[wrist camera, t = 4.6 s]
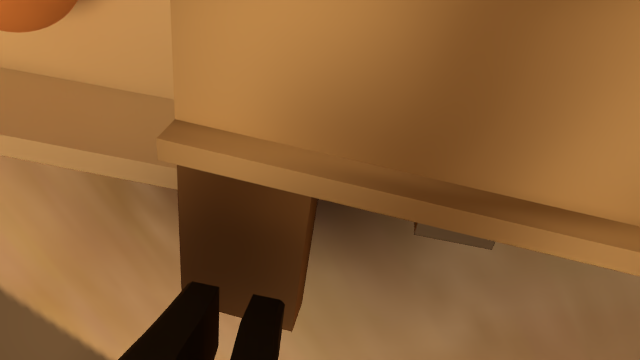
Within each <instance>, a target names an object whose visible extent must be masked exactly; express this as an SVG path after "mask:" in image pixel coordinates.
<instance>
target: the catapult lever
mask: <svg viewBox="0 0 640 360" xmlns="http://www.w3.org/2000/svg"><path fill="white" fill-rule="evenodd" d="M170 9H171V34H172V60H173V85H174V110H175V119H174V121H173V122H172V123H171V124H170V125H169V126H168V127H167V128H166V129H165V130H164V131H163V132H162V133H161V134H160V135H159V136H158V137H157V138H156V141H157V157H158V160H160V161H164V162H168V163H172V164H176V165H177V186H178V211H179V236H180V262H181V287H182V290H183V289H184V288H185V286H186V285H187V284H188V283H190V282H192V281H193V282H198V283H203V284H208V285H213V286H217V287H219V312H222V313H225V314H229V315H233V316H236V317H240V318H243V315H244V313H245V311H246V308H247V306H248V304H249V302H250V300H251V297H252V295H253V294H256V295H260V296H265V297H270V298H275V299H280V300H281V301H282V302H283V303H284V304H285V309H284V317H283V325H282V329H284V330H288V331H292V330H293V328H294V325H295V322H296V319H297V316H298V313H299V310H300V307H301V304H302V299H303V293H304V286H305V280H306V273H307V267H308V260H309V254H310V247H311V241H312V234H313V228H314V221H315V214H316V208H317V201H318V199H321V200H326V201H330V202H334V203H338V204H342V205H346V206H350V207H355V208H359V209H363V210H367V211H371V212H375V213H379V214H384V215H388V216H392V217H396V218H400V219H404V220H408V221H413V222H417V223H421V224H425V225H429V226H433V227H437V228H442V229H446V230H450V231H454V232H458V233H462V234H466V235H471V236H475V237H479V238H483V239H487V240H491V241H495V242H500V243H504V244H508V245H512V246H516V247H520V248H524V249H529V250H533V251H537V252H541V253H545V254H549V255H553V256H558V257H562V258H566V259H570V260H574V261H578V262H582V263H587V264H591V265H595V266H599V267H603V268H607V269H611V270H616V271H620V272H624V273H628V274H632V275H636V276H640V0H170Z"/></svg>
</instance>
